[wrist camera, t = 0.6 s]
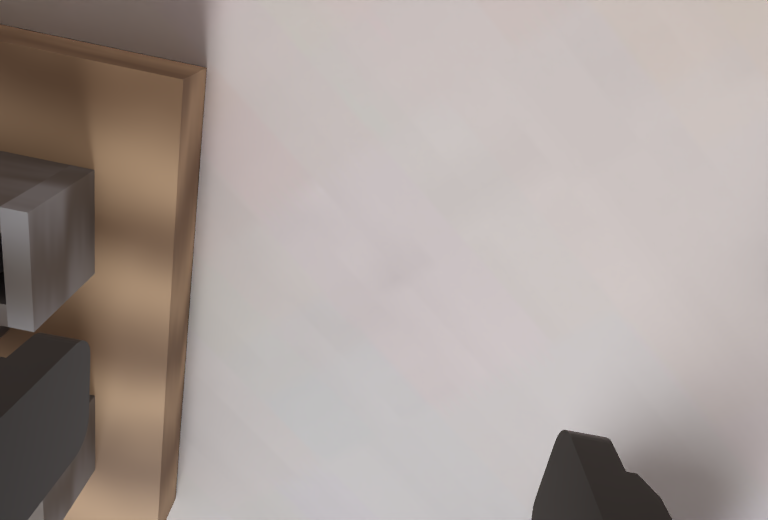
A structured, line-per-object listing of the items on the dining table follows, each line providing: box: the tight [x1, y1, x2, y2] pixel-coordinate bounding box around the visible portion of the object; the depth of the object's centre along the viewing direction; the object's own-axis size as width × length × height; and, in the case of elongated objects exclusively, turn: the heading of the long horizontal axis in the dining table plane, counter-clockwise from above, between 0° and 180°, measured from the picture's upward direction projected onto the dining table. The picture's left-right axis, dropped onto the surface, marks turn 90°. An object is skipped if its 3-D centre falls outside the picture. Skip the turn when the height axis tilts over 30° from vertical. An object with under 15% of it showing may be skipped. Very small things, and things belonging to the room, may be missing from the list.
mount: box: [0, 24, 207, 520], centre depth 29 cm, size 26×12×8 cm, turn 169°
